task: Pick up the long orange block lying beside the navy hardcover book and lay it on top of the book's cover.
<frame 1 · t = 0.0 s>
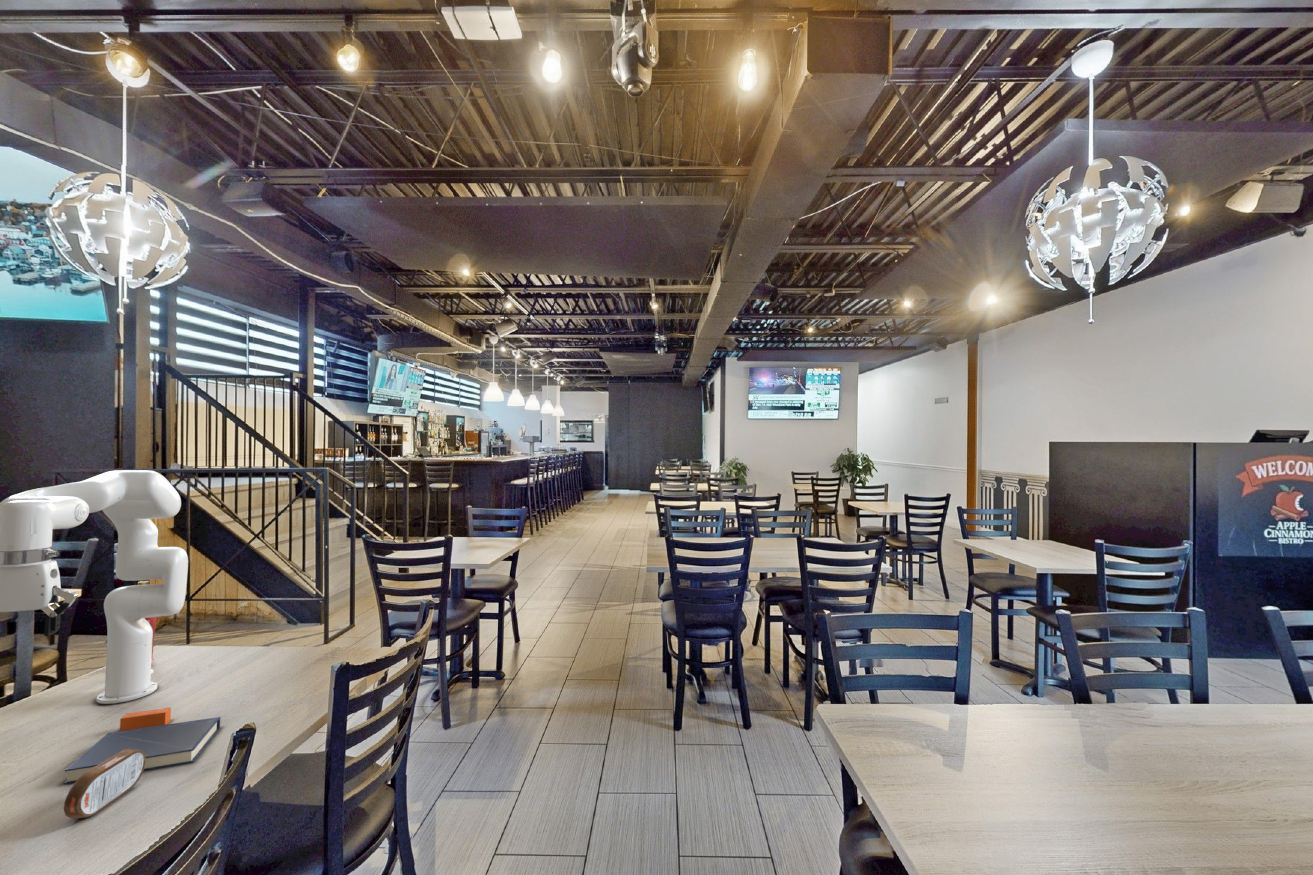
hand: (20, 636, 113), 31 cm above the table, tool pointing down, fingers open, 9 cm apart
tin: (107, 803, 107), on the table
long orange block: (145, 726, 136), on the table
liquor: (139, 667, 173), on the table
book: (148, 753, 124), on the table
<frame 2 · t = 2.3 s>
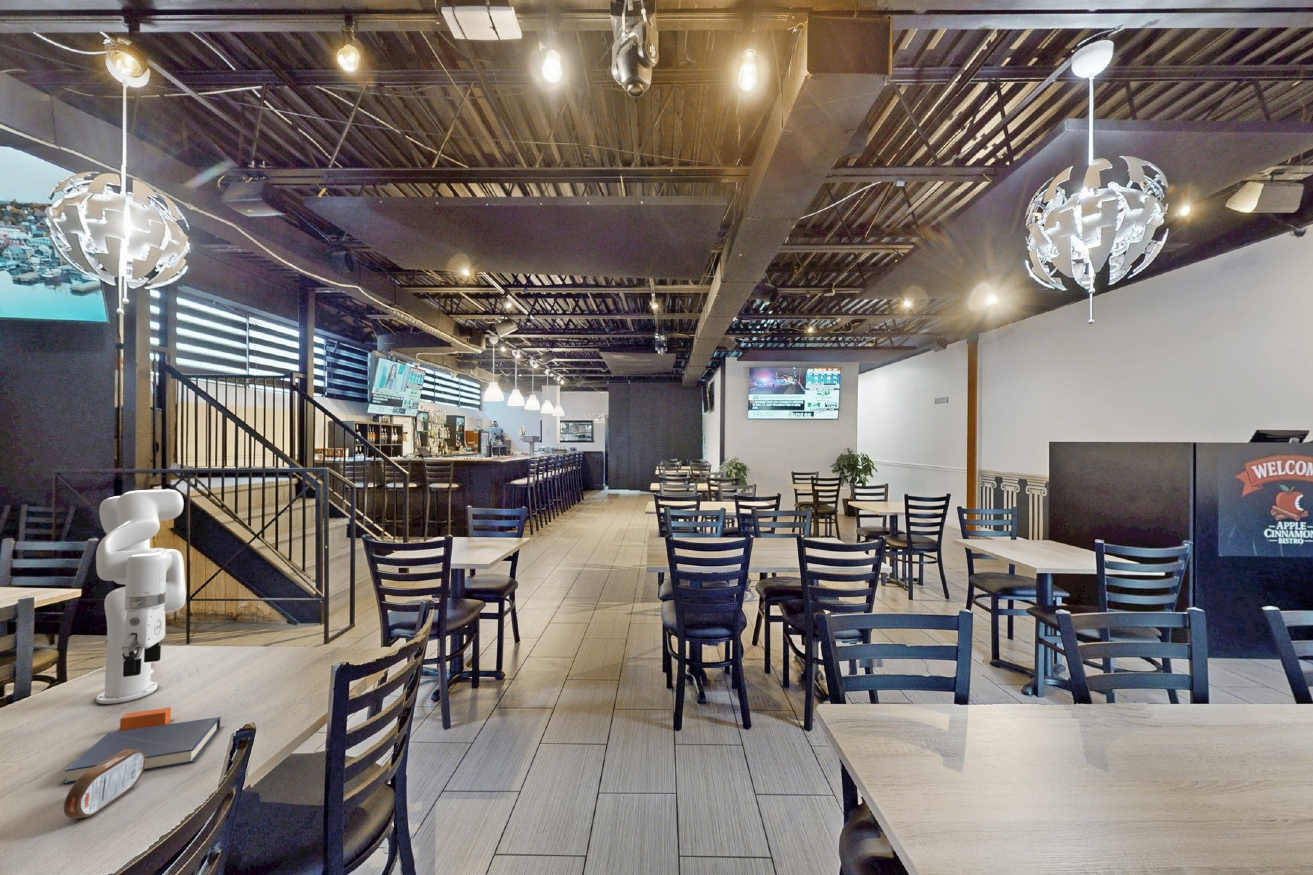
hand: (142, 668, 135), 16 cm above the table, tool pointing down, fingers open, 9 cm apart
nothing on the table moved.
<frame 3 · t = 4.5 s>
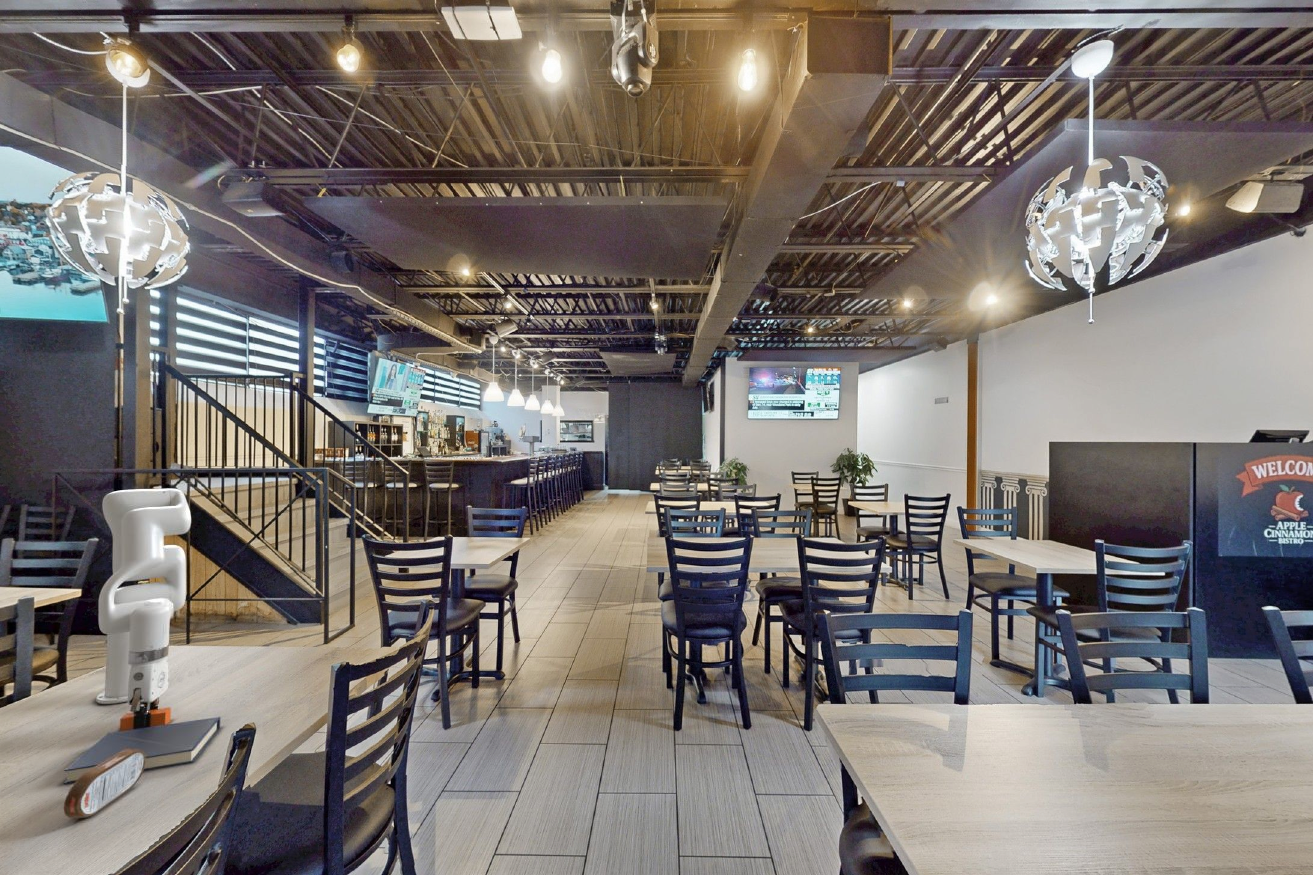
hand: (145, 725, 136), 0 cm above the table, tool pointing down, fingers closed on long orange block, 3 cm apart
long orange block: (145, 726, 136), on the table, touching gripper
everything else where it was.
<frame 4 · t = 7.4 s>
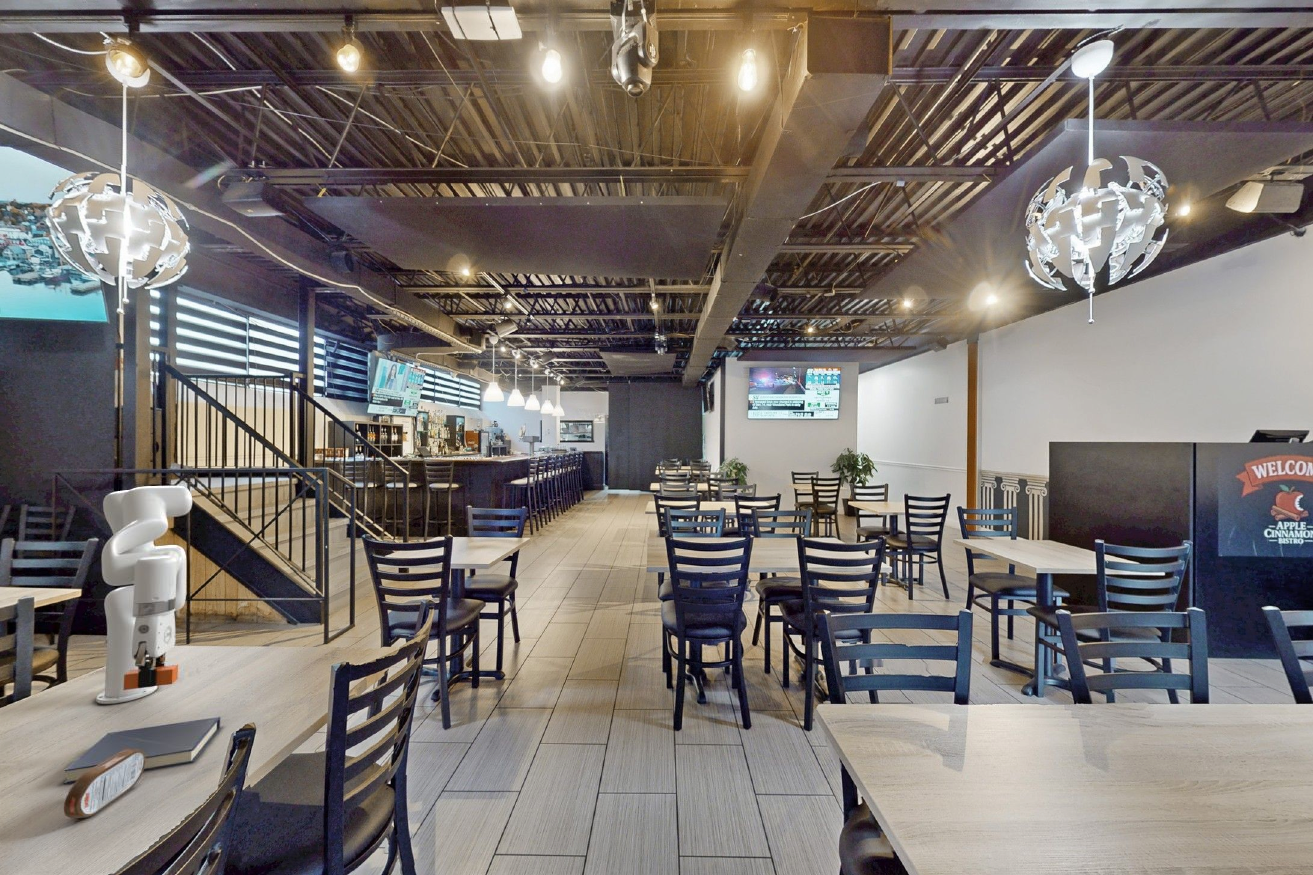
hand: (151, 682, 127), 15 cm above the table, tool pointing down, fingers closed on long orange block, 3 cm apart
long orange block: (151, 684, 127), point 15 cm above the table, touching gripper
everything else where it was.
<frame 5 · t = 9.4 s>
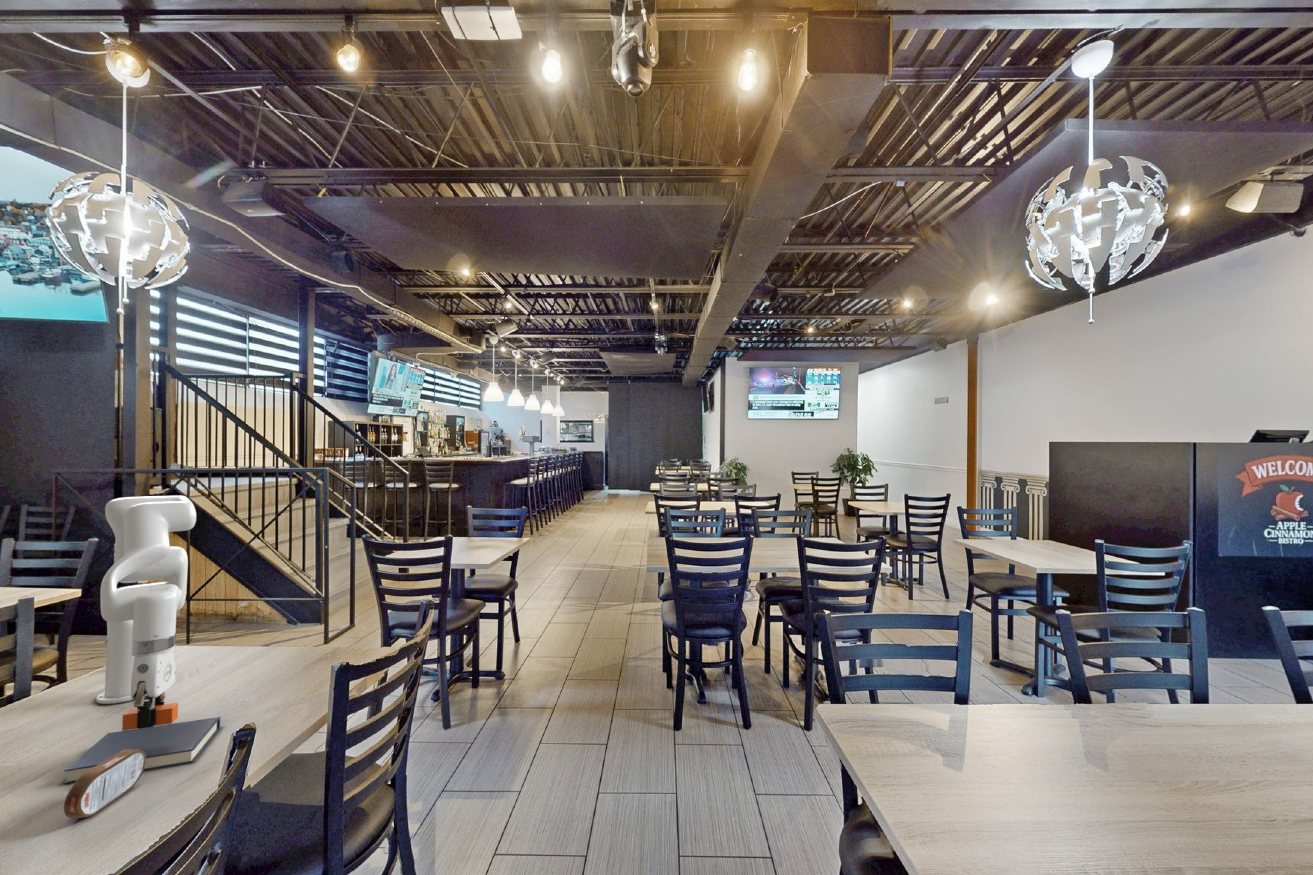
hand: (150, 722, 124), 7 cm above the table, tool pointing down, fingers closed on long orange block, 3 cm apart
long orange block: (150, 724, 124), point 7 cm above the table, touching gripper
everything else where it was.
when the fingers open (4 cm above the table, at t = 10.5 s): long orange block stays where it is, resting on book.
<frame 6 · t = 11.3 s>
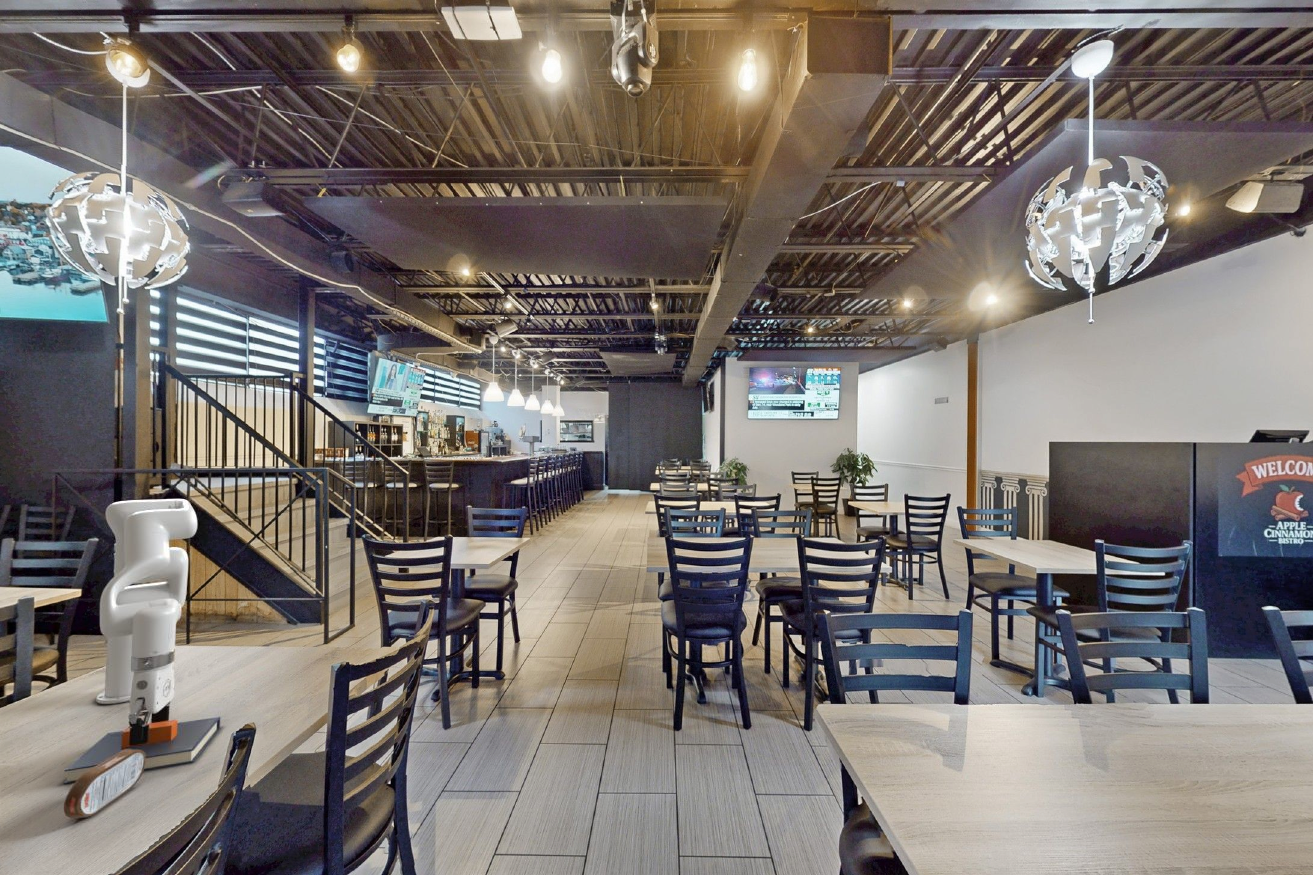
hand: (149, 733, 124), 5 cm above the table, tool pointing down, fingers open, 9 cm apart
long orange block: (149, 741, 124), point 3 cm above the table, touching book
everything else where it was.
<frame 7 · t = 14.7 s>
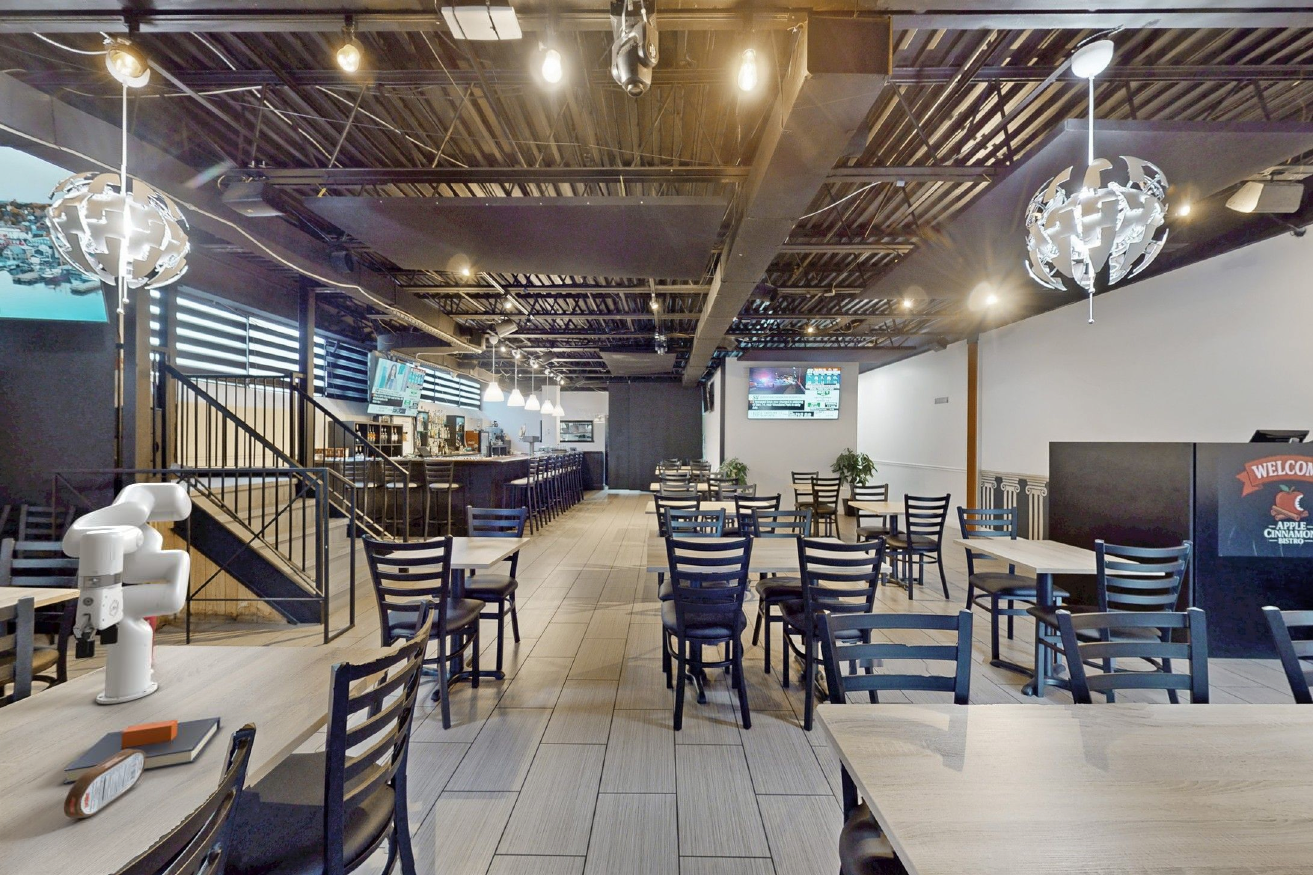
hand: (97, 650, 129), 22 cm above the table, tool pointing down, fingers open, 9 cm apart
nothing on the table moved.
at the end: long orange block inside the target area on the book (0.1 cm from its centre), point 3.0 cm above the book's base; the gripper is holding nothing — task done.
